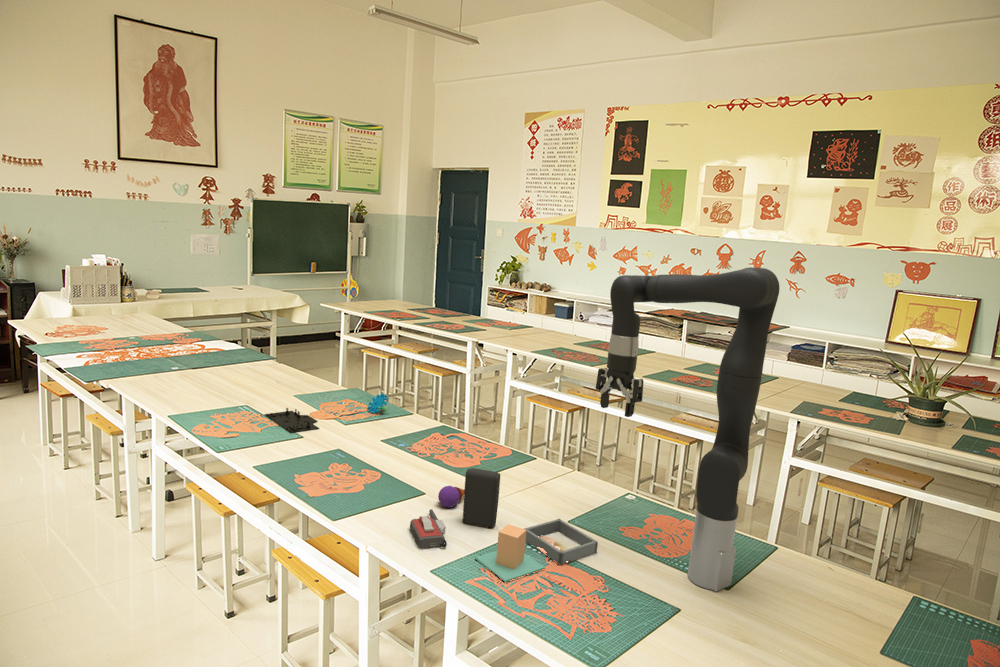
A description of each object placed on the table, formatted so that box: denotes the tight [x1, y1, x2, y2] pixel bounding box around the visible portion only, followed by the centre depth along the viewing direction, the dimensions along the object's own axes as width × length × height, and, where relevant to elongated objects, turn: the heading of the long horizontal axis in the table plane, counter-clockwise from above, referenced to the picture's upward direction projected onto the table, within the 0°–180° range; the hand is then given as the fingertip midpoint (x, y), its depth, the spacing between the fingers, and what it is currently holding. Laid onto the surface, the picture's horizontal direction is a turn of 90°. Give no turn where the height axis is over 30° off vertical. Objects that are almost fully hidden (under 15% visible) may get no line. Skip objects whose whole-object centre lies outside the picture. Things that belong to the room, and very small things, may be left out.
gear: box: [366, 392, 389, 415], centre depth 268 cm, size 11×6×10 cm
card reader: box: [462, 467, 501, 529], centre depth 174 cm, size 9×4×15 cm, turn 77°
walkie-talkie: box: [409, 509, 448, 550], centre depth 168 cm, size 9×4×20 cm
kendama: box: [438, 485, 465, 508], centre depth 190 cm, size 6×6×20 cm
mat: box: [474, 550, 546, 583], centre depth 155 cm, size 12×12×1 cm
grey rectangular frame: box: [524, 518, 599, 566], centre depth 166 cm, size 15×13×3 cm
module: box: [496, 523, 527, 570], centre depth 154 cm, size 5×5×8 cm
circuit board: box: [264, 407, 320, 434], centre depth 247 cm, size 25×14×3 cm, turn 41°
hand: (616, 411), depth 170 cm, fingers open, 8 cm apart
